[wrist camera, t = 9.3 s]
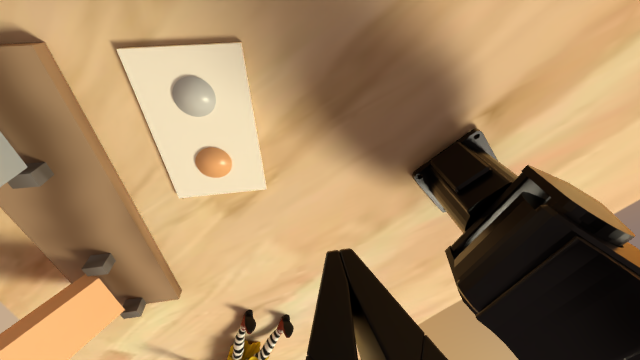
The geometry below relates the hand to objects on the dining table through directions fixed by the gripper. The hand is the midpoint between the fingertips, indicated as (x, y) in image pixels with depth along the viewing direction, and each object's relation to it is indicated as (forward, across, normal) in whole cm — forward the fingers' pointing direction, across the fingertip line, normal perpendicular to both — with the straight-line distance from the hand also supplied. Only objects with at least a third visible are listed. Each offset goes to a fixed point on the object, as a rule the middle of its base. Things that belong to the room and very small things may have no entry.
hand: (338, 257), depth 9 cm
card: (+13, +7, 0) cm, 15 cm away
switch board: (+13, +18, +6) cm, 23 cm away
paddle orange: (+11, +19, +14) cm, 26 cm away
